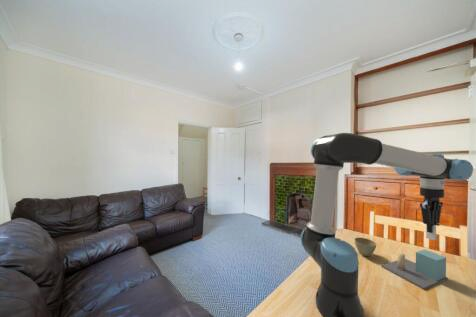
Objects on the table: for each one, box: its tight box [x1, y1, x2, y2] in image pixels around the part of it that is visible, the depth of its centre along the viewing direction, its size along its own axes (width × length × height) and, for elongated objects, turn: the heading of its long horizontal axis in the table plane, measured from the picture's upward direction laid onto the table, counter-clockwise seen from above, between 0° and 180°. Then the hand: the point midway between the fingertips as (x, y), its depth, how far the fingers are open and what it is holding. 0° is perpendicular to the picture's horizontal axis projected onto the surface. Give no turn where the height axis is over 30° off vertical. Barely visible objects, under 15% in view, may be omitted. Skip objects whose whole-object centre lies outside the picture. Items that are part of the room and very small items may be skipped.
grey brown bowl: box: [354, 237, 377, 257], centre depth 101 cm, size 10×10×7 cm
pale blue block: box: [415, 249, 447, 281], centre depth 82 cm, size 7×7×9 cm
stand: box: [381, 252, 449, 290], centre depth 84 cm, size 18×16×8 cm
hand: (431, 238), depth 82 cm, fingers closed
